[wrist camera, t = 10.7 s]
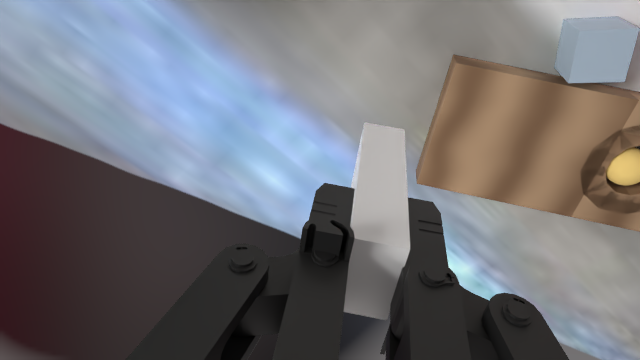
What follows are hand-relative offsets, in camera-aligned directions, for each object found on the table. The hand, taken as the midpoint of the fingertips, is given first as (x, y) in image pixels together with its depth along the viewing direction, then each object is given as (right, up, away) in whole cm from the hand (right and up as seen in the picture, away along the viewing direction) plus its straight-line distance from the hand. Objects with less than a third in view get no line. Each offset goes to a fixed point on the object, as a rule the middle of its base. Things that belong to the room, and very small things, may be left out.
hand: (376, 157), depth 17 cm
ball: (+25, 0, +23) cm, 34 cm away
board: (+21, +2, +25) cm, 32 cm away
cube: (+20, +10, +20) cm, 30 cm away
